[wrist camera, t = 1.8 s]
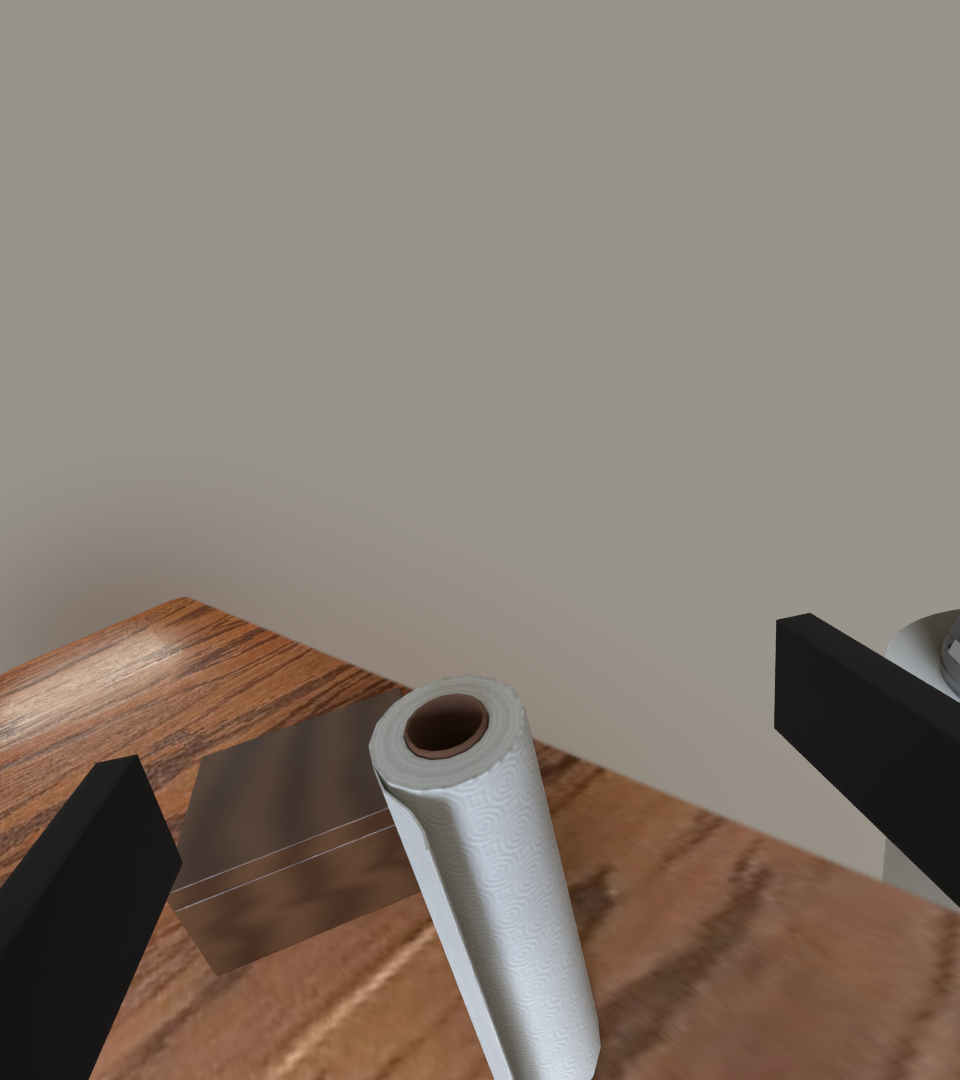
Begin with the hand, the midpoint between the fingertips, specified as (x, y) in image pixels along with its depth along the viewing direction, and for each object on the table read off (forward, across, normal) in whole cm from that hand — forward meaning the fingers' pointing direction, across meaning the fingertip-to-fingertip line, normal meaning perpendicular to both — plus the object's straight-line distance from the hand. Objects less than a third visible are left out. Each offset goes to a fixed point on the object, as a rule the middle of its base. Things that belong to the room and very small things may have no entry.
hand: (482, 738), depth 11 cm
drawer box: (+25, -12, -26) cm, 38 cm away
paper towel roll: (+9, 0, -27) cm, 28 cm away
